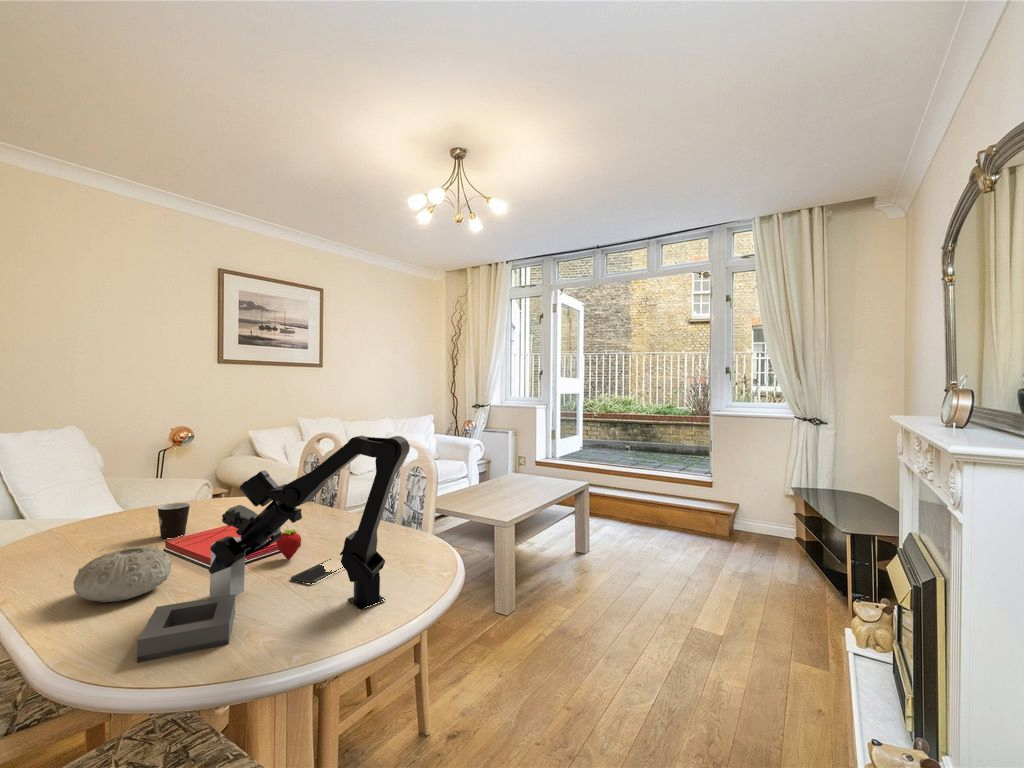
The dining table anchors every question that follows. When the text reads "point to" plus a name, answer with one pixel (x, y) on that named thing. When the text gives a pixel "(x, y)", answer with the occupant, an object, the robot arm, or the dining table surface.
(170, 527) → the coffee mug
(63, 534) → the dining table surface
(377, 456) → the robot arm
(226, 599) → the cradle
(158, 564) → the decorative shell
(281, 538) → the strawberry
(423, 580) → the dining table surface
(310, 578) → the phone
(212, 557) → the steel block
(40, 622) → the dining table surface
